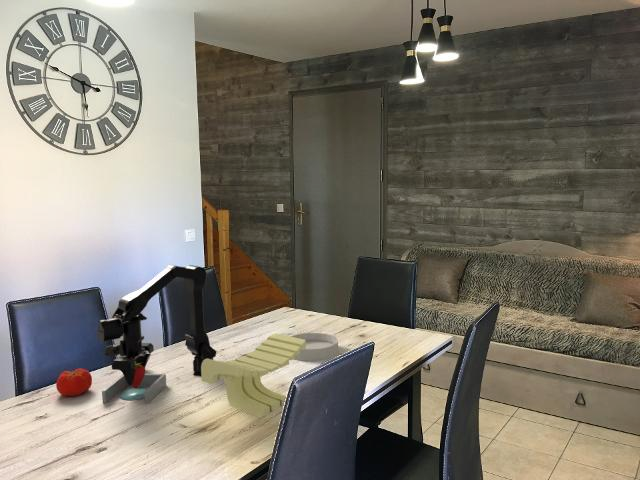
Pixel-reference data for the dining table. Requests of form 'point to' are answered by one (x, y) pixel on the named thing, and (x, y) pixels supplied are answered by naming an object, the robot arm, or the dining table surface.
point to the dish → (317, 347)
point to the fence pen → (152, 380)
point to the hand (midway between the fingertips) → (135, 380)
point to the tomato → (74, 382)
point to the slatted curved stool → (254, 374)
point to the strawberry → (138, 375)
